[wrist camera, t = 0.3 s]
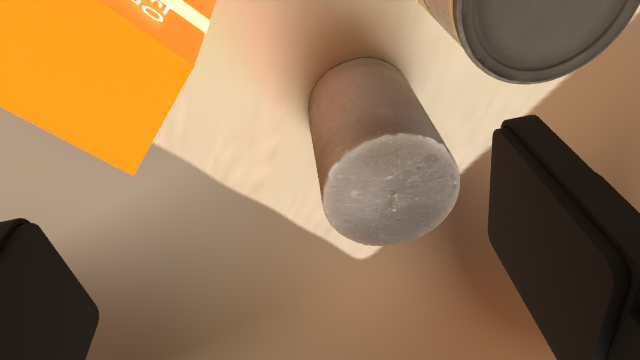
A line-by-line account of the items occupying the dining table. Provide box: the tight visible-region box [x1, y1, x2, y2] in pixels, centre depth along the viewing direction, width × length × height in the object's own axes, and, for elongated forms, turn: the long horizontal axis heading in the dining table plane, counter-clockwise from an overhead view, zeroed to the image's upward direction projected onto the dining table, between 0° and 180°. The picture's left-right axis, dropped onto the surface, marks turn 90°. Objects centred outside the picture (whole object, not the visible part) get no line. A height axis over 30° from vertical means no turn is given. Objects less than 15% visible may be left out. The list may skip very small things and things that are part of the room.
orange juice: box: [0, 0, 216, 175], centre depth 27 cm, size 8×9×20 cm
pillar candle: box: [309, 58, 460, 246], centre depth 37 cm, size 10×10×15 cm
